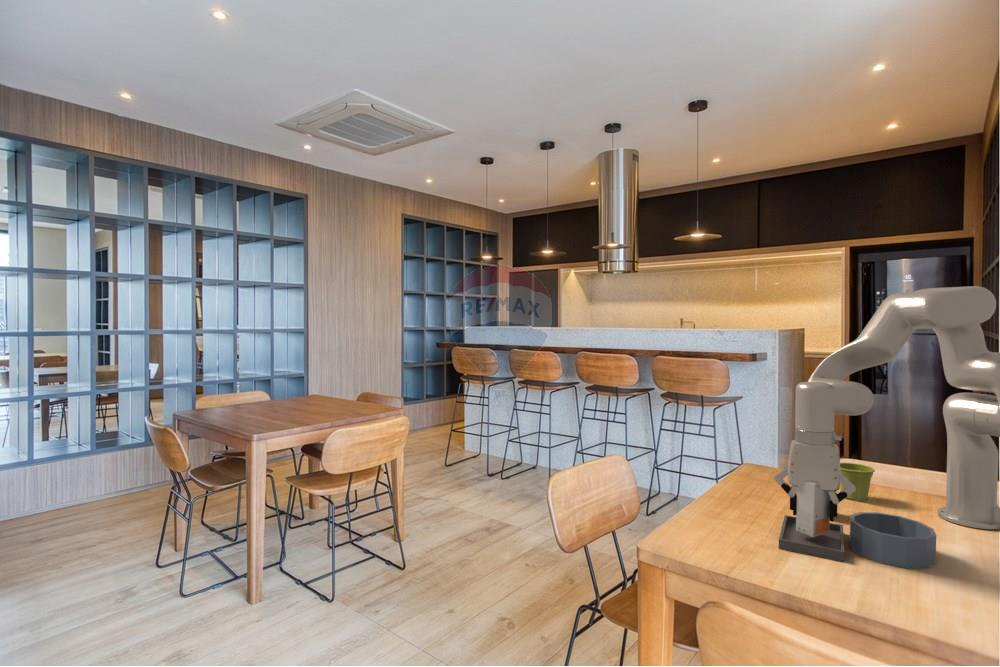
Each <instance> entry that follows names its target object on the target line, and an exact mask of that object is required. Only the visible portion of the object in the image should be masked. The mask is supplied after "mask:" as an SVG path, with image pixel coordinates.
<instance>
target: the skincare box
mask: <svg viewBox="0 0 1000 667" xmlns="http://www.w3.org/2000/svg"><path fill="white" fill-rule="evenodd" d="M796 494H797V510H796V516H795V517H796V531H797V532H800V533H803V534H805V535H808V536H810V537H816V536H819V535H823V534H826V533H829V523H831V521H830V495H829V493H828V491H824V490H821V489H820V484H819V483H815V482H808V481H803V482H802V484H801V486H798V487H797V492H796Z"/></svg>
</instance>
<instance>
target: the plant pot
mask: <svg viewBox="0 0 1000 667" xmlns="http://www.w3.org/2000/svg"><path fill="white" fill-rule="evenodd" d="M875 472H876V469H875V468H874V467H872V466H869V465H865V464H862V463H861V464H860V463H853V462H840V473H841V474H842V475H843V476H844V477H845V478H846V479H847V480H848V481H849V482H851V483H852V484H853V485H854V486H855V488H856V490H855V491H854V492H853V493H851V494H850V495H848V496H847V497H846V498H845V499H847V500H849V499H851V500H853V501H857V502H858V501H859V502H860V501H861V502H864V501H866V500H868V498H869V497H868V496H869V492H870V487H871V486H870V485H871V482H872V477H873V474H874V473H875ZM845 488H846V487H845V486H844V485H843V484H842V483H841V482H840V488H839V490H840V492H841V491H843V490H844V489H845Z"/></svg>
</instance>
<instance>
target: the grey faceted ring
mask: <svg viewBox="0 0 1000 667" xmlns="http://www.w3.org/2000/svg"><path fill="white" fill-rule="evenodd" d="M849 549H851V550H852V551H853V552H855V553H857V554H858V555H859V556H861V557H864V558H866V559H868V560H872V561H874V562H876V563H879V562H880V563H879V564H883V565H887V564H888V566H893V567H898V568H903V569H923V570H924V569H925V570H926V569H927V568H931V567H933V566H935V565H937V564H936V563H937V562H936V561H937V560H936V559H937V533H936V531H935V530H934V528H932V527H931V526H928V525H927V524H925V523H923V522H921V521H918V520H914V519H911V518H907V517H903V516H901V515H896V514H895V515H894V514H890V513H883V512H882V513H881V512H878V511H877V512H873V511H872V512H870V511H868V512H867V511H865V512H864V511H863V512H861V511H860V512H856V513H853V514H850V515H849Z"/></svg>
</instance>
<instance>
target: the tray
mask: <svg viewBox="0 0 1000 667" xmlns="http://www.w3.org/2000/svg"><path fill="white" fill-rule="evenodd" d="M780 529H781V530H780V533H779V536H778V537H779V538H778V549H780V550H784V551H789V552H794V553H800V554H804V555H808V556H809V555H810V556H814V557H819V558H823V559H829V560H833V561H839V562H843V563H845V537H844V536H845V534H844V525H843V524H838V523H834V522H830V523H829V533H826V534H823V535H819V536H816V537H810V536H808V535H805V534H803V533H800V532H797V531H796V516H794V515H792V516H791V515H787V514H785V515H784V517H783V520H782V525H781V528H780Z"/></svg>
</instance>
